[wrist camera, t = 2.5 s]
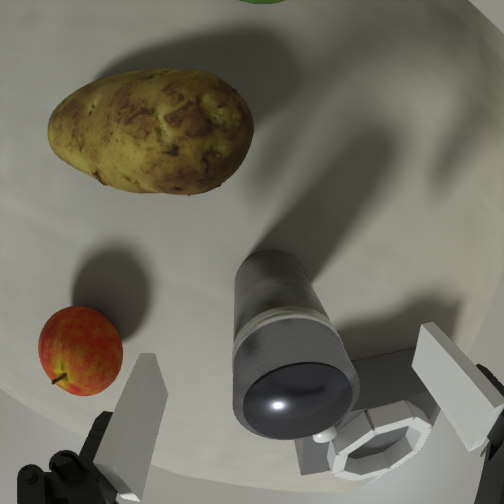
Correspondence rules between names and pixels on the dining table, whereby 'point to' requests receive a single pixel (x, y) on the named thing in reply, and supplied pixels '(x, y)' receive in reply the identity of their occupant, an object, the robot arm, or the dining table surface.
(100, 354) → the fruit
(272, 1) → the fruit
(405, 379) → the grey block
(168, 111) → the potato
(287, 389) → the lens
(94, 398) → the dining table surface
